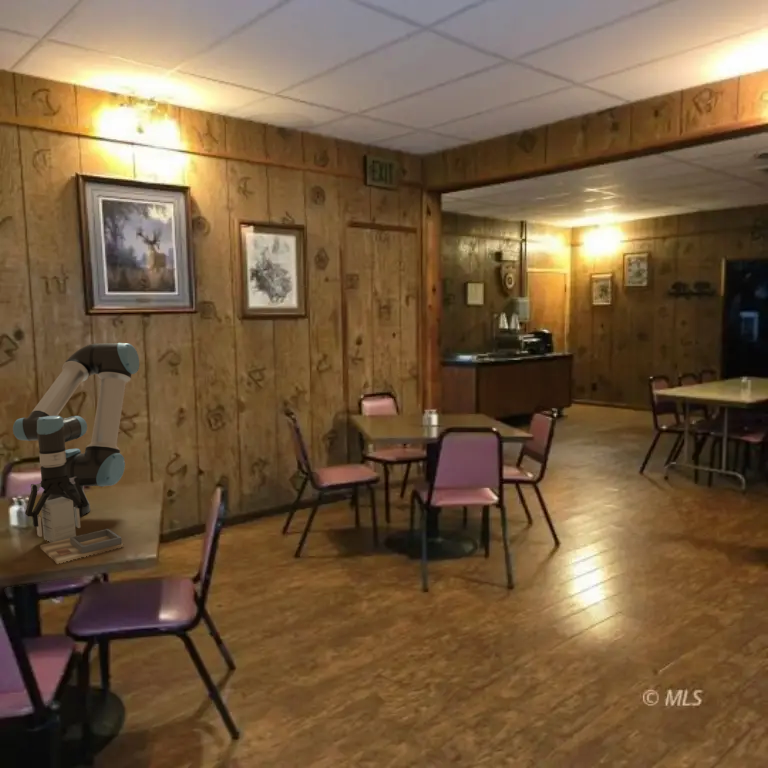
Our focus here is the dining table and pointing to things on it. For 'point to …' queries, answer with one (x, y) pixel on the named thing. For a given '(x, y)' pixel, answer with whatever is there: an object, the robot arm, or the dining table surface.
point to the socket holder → (99, 545)
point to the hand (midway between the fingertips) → (59, 531)
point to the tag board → (72, 549)
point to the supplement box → (58, 519)
